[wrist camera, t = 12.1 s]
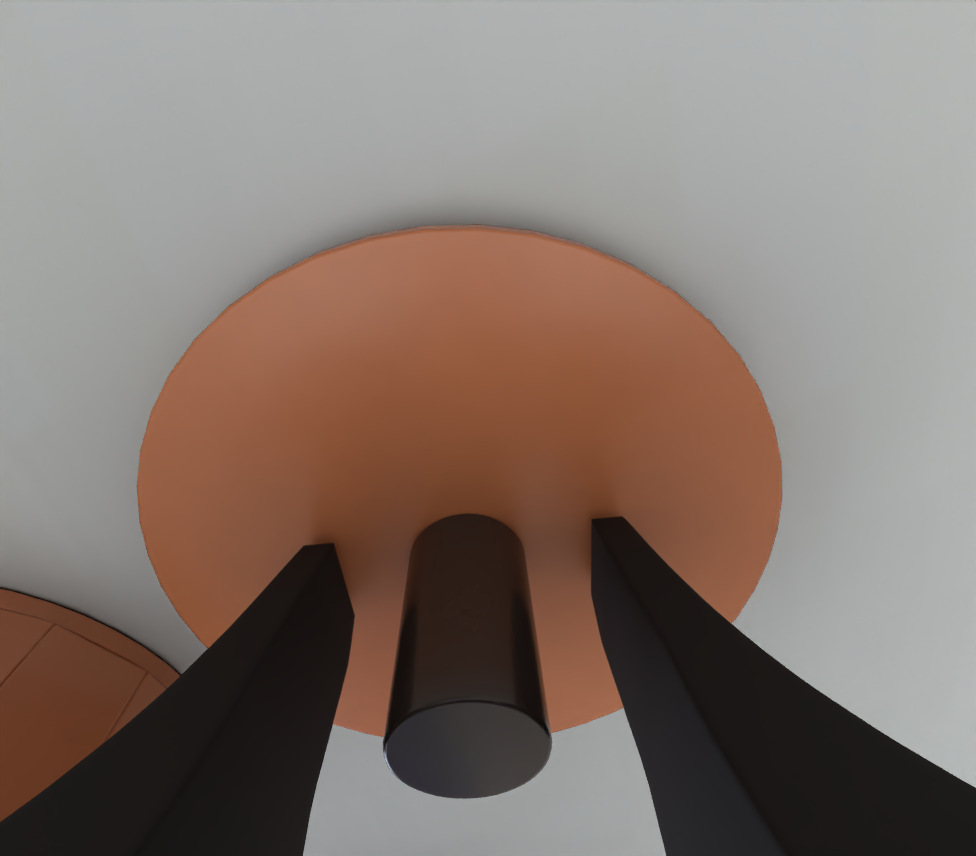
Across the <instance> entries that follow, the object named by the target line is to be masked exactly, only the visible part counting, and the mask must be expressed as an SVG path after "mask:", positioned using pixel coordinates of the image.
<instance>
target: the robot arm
mask: <svg viewBox="0 0 976 856" xmlns="http://www.w3.org/2000/svg"><path fill="white" fill-rule="evenodd" d="M591 597H592V601H593V606H594V611H595V615H596V620H597V624H598V629H599V633H600V637H601V642H602V645H603V648H604V651H605V654H606V657H607V660H608V663H609V666H610V669H611V672H612V675H613V678H614V681H615V684H616V687H617V690H618V692H619V695H620V698H621V701H622V704H623V707H624V710H625V713H626V716H627V719H628V722H629V725H630V728H631V730H632V733H633V736H634V739H635V742H636V745H637V748H638V751H639V754H640V757H641V760H642V764H643V767H644V770H645V774H646V777H647V780H648V784H649V787H650V791H651V795H652V799H653V803H654V807H655V811H656V815H657V819H658V823H659V828H660V832H661V836H662V840H663V844H664V848H665V852H666V856H976V788H975V787H973V786H971V785H970V784H968V783H966V782H964V781H962V780H961V779H959V778H957V777H955V776H954V775H952V774H950V773H949V772H947V771H945V770H944V769H942V768H940V767H938V766H937V765H935V764H933V763H932V762H930V761H928V760H927V759H925V758H923V757H922V756H920V755H918V754H916V753H915V752H913V751H911V750H910V749H908V748H906V747H905V746H903V745H901V744H900V743H898V742H896V741H895V740H893V739H891V738H890V737H888V736H887V735H885V734H883V733H882V732H880V731H879V730H877V729H875V728H874V727H872V726H871V725H869V724H868V723H866V722H865V721H863V720H862V719H860V718H859V717H857V716H856V715H854V714H853V713H851V712H850V711H848V710H847V709H845V708H844V707H842V706H841V705H839V704H838V703H836V702H834V701H833V700H831V699H830V698H828V697H827V696H825V695H824V694H822V693H821V692H819V691H818V690H816V689H815V688H814V687H812V686H811V685H809V684H808V683H806V682H805V681H804V680H802V679H801V678H800V677H798V676H797V675H795V674H794V673H793V672H791V671H790V670H789V669H787V668H786V667H785V666H783V665H782V664H781V663H779V662H778V661H777V660H775V659H774V658H773V657H772V656H770V655H769V654H768V653H766V652H765V651H764V650H762V649H761V648H760V647H759V646H758V645H756V644H755V643H754V642H753V641H751V640H750V639H749V638H748V637H746V636H745V635H744V634H743V633H742V632H740V631H739V630H738V629H737V628H736V627H735V626H733V625H732V624H731V623H730V622H729V621H728V620H727V619H725V618H724V617H723V616H722V615H721V614H720V613H719V612H717V611H716V610H715V609H714V608H713V607H712V606H711V605H710V604H709V603H707V602H706V601H705V600H704V599H703V598H702V597H701V596H700V595H699V594H698V593H697V592H696V591H695V590H694V589H693V588H692V587H690V586H689V585H688V584H687V583H686V582H685V581H684V580H683V579H682V578H681V577H680V576H679V575H678V574H677V573H676V572H675V571H674V570H673V569H672V568H671V567H670V566H669V565H668V564H667V563H666V562H665V561H664V560H663V559H662V558H661V557H660V556H659V555H658V553H657V552H656V551H655V550H654V549H653V548H652V547H651V546H650V545H649V544H648V543H647V542H646V541H645V540H644V539H643V537H642V536H641V535H640V534H639V533H638V532H637V531H636V530H635V529H634V527H633V526H632V525H631V524H630V523H629V522H628V521H627V520H626V519H625V518H624V517H623V516H618V517H608V518H597V519H592V528H591ZM354 619H355V614H354V611H353V607H352V604H351V600H350V597H349V594H348V590H347V587H346V583H345V580H344V576H343V573H342V570H341V566H340V563H339V559H338V556H337V552H336V549H335V546H334V543H326V544H315V545H304V546H303V547H302V548H301V549H300V550H299V551H298V552H297V553H296V554H295V555H294V557H293V558H292V559H291V560H290V561H289V562H288V563H287V564H286V565H285V567H284V568H283V569H282V570H281V571H280V572H279V573H278V574H277V576H276V577H275V578H274V579H273V580H272V581H271V582H270V583H269V584H268V586H267V587H266V588H265V589H264V590H263V591H262V592H261V593H260V594H259V596H258V597H257V598H256V599H255V600H254V601H253V602H252V603H251V604H250V605H249V607H248V608H247V609H246V610H245V611H244V612H243V613H242V614H241V615H240V616H239V617H238V618H237V619H236V621H235V622H234V623H233V624H232V625H231V626H230V627H229V628H228V629H227V630H226V631H225V632H224V633H223V634H222V635H221V636H220V637H219V638H218V639H217V640H216V641H215V642H214V643H213V644H212V645H211V646H210V647H209V648H208V649H207V650H206V651H205V652H204V653H203V654H202V655H201V656H200V657H199V658H198V659H197V660H196V661H195V662H194V663H193V664H192V665H191V666H190V667H189V668H188V669H187V670H186V671H185V672H184V673H183V674H182V675H181V676H180V677H179V678H178V679H177V680H176V681H175V682H173V683H172V684H171V685H170V686H169V687H168V688H167V689H166V690H165V691H164V692H163V693H161V694H160V695H159V696H158V697H157V698H156V699H155V700H154V701H153V702H151V703H150V704H149V705H148V706H147V707H146V708H145V709H143V710H142V711H141V712H140V713H139V714H138V715H136V716H135V717H134V718H133V719H132V720H131V721H130V722H128V723H127V724H126V725H125V726H124V727H123V728H121V729H120V730H119V731H118V732H117V733H115V734H114V735H113V736H112V737H111V738H109V739H108V740H107V741H106V742H104V743H103V744H102V745H100V746H99V747H98V748H97V749H95V750H94V751H93V752H92V753H90V754H89V755H88V756H86V757H85V758H84V759H83V760H81V761H80V762H79V763H78V764H76V765H75V766H74V767H73V768H71V769H70V770H69V771H67V772H66V773H65V774H64V775H62V776H61V777H60V778H59V779H57V780H56V781H55V782H54V783H52V784H51V785H50V786H48V787H47V788H46V789H44V790H43V791H42V792H40V793H39V794H38V795H36V796H35V797H34V798H32V799H31V800H30V801H28V802H27V803H26V804H24V805H23V806H21V807H20V808H19V809H17V810H16V811H15V812H13V813H12V814H10V815H9V816H8V817H6V818H5V819H4V820H2V821H1V822H0V856H303V851H304V845H305V840H306V834H307V828H308V822H309V817H310V812H311V807H312V803H313V798H314V794H315V790H316V785H317V781H318V778H319V774H320V770H321V766H322V763H323V759H324V755H325V751H326V748H327V744H328V740H329V736H330V733H331V729H332V725H333V721H334V718H335V714H336V710H337V706H338V703H339V699H340V695H341V691H342V687H343V683H344V680H345V676H346V672H347V668H348V663H349V656H350V649H351V643H352V635H353V627H354Z"/></svg>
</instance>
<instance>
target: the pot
mask: <svg viewBox="0 0 976 856" xmlns="http://www.w3.org/2000/svg"><path fill="white" fill-rule="evenodd" d="M179 677H180V675H179V674H178V673H177V672H176V671H175V670H173V669H172V668H171V667H170V666H169V665H168V664H167V663H165V662H164V661H162V660H161V659H160V658H158V657H157V656H155V655H154V654H153V653H151V652H150V651H149V650H147V649H146V648H144V647H143V646H141V645H139V644H138V643H136V642H134V641H133V640H131V639H129V638H128V637H126V636H124V635H122V634H121V633H119V632H117V631H116V630H113V629H111V628H109V627H107V626H105V625H103V624H101V623H99V622H97V621H95V620H93V619H91V618H88V617H86V616H84V615H81V614H79V613H76V612H74V611H71V610H69V609H66V608H63V607H61V606H58V605H56V604H53V603H50V602H47V601H43V600H40V599H37V598H33V597H30V596H27V595H23V594H20V593H17V592H13V591H8V590H4V589H0V822H1V821H2V820H4V819H5V818H6V817H8V816H9V815H10V814H12V813H13V812H15V811H16V810H17V809H19V808H20V807H21V806H23V805H24V804H26V803H27V802H28V801H30V800H31V799H32V798H34V797H35V796H36V795H38V794H39V793H40V792H42V791H43V790H44V789H46V788H47V787H48V786H50V785H51V784H52V783H54V782H55V781H56V780H57V779H59V778H60V777H61V776H62V775H64V774H65V773H66V772H67V771H69V770H70V769H71V768H73V767H74V766H75V765H76V764H78V763H79V762H80V761H81V760H83V759H84V758H85V757H86V756H88V755H89V754H90V753H92V752H93V751H94V750H95V749H97V748H98V747H99V746H100V745H102V744H103V743H104V742H106V741H107V740H108V739H109V738H111V737H112V736H113V735H114V734H115V733H117V732H118V731H119V730H120V729H121V728H123V727H124V726H125V725H126V724H127V723H128V722H130V721H131V720H132V719H133V718H134V717H135V716H136V715H138V714H139V713H140V712H141V711H142V710H143V709H145V708H146V707H147V706H148V705H149V704H150V703H151V702H153V701H154V700H155V699H156V698H157V697H158V696H159V695H160V694H161V693H163V692H164V691H165V690H166V689H167V688H168V687H169V686H170V685H171V684H172V683H173V682H175V681H176V680H177V679H178V678H179Z"/></svg>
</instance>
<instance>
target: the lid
mask: <svg viewBox="0 0 976 856" xmlns="http://www.w3.org/2000/svg"><path fill="white" fill-rule="evenodd" d="M137 494H138V506H139V519H140V525H141V529H142V533H143V537H144V541H145V545H146V549H147V553H148V556H149V558H150V561H151V563H152V565H153V568H154V570H155V573H156V575H157V577H158V580H159V582H160V584H161V586H162V588H163V590H164V591H165V593H166V595H167V596H168V598H169V600H170V601H171V603H172V604H173V606H174V608H175V609H176V611H177V613H178V614H179V616H180V617H181V618H182V619H183V621H184V622H185V623H186V624H187V625H188V627H189V628H190V629H191V630H192V632H193V633H194V634H195V635H196V637H197V638H198V639H199V640H200V641H201V642H202V643H203V644H204V645H205V646H206V647H207V648H209V647H210V646H211V645H212V644H213V643H214V642H215V641H216V640H217V639H218V638H219V637H220V636H221V635H222V634H223V633H224V632H225V631H226V630H227V629H228V628H229V627H230V626H231V625H232V624H233V623H234V622H235V621H236V619H237V618H238V617H239V616H240V615H241V614H242V613H243V612H244V611H245V610H246V609H247V608H248V607H249V605H250V604H251V603H252V602H253V601H254V600H255V599H256V598H257V597H258V596H259V594H260V593H261V592H262V591H263V590H264V589H265V588H266V587H267V586H268V584H269V583H270V582H271V581H272V580H273V579H274V578H275V577H276V576H277V574H278V573H279V572H280V571H281V570H282V569H283V568H284V567H285V565H286V564H287V563H288V562H289V561H290V560H291V559H292V558H293V557H294V555H295V554H296V553H297V552H298V551H299V550H300V549H301V548H302V547H303V546H304V545H315V544H326V543H334V546H335V549H336V552H337V556H338V559H339V563H340V566H341V570H342V573H343V576H344V580H345V583H346V587H347V590H348V594H349V597H350V600H351V604H352V607H353V611H354V614H355V619H354V627H353V635H352V643H351V649H350V656H349V663H348V668H347V672H346V676H345V680H344V683H343V687H342V691H341V695H340V699H339V703H338V706H337V710H336V714H335V718H334V721H333V724H334V725H337V726H341V727H345V728H348V729H352V730H355V731H359V732H362V733H366V734H371V735H376V736H381V737H384V740H383V753H384V757H385V761H386V763H387V765H388V767H389V769H390V770H391V772H392V773H393V774H394V775H395V776H396V777H397V778H398V779H400V780H401V781H402V782H404V783H405V784H407V785H408V786H410V787H412V788H414V789H417V790H419V791H422V792H424V793H427V794H431V795H435V796H441V797H447V798H462V799H468V798H481V797H488V796H493V795H497V794H501V793H504V792H507V791H510V790H513V789H515V788H517V787H519V786H521V785H523V784H525V783H526V782H528V781H530V780H531V779H532V778H534V777H535V776H536V775H537V774H538V773H539V772H540V771H541V770H542V769H543V767H544V766H545V765H546V763H547V761H548V759H549V756H550V752H551V749H552V737H551V733H554V732H558V731H561V730H564V729H568V728H571V727H574V726H578V725H581V724H584V723H587V722H590V721H592V720H595V719H597V718H600V717H603V716H605V715H608V714H610V713H613V712H615V711H617V710H619V709H621V708H623V704H622V701H621V698H620V695H619V692H618V690H617V687H616V684H615V681H614V678H613V675H612V672H611V669H610V666H609V663H608V660H607V657H606V654H605V651H604V648H603V645H602V642H601V637H600V633H599V629H598V624H597V620H596V615H595V611H594V606H593V601H592V597H591V528H592V519H597V518H608V517H618V516H623V517H624V518H625V519H626V520H627V521H628V522H629V523H630V524H631V525H632V526H633V527H634V529H635V530H636V531H637V532H638V533H639V534H640V535H641V536H642V537H643V539H644V540H645V541H646V542H647V543H648V544H649V545H650V546H651V547H652V548H653V549H654V550H655V551H656V552H657V553H658V555H659V556H660V557H661V558H662V559H663V560H664V561H665V562H666V563H667V564H668V565H669V566H670V567H671V568H672V569H673V570H674V571H675V572H676V573H677V574H678V575H679V576H680V577H681V578H682V579H683V580H684V581H685V582H686V583H687V584H688V585H689V586H690V587H692V588H693V589H694V590H695V591H696V592H697V593H698V594H699V595H700V596H701V597H702V598H703V599H704V600H705V601H706V602H707V603H709V604H710V605H711V606H712V607H713V608H714V609H715V610H716V611H717V612H719V613H720V614H721V615H722V616H723V617H724V618H725V619H727V620H728V621H729V622H730V623H731V624H732V622H733V621H734V620H735V619H736V618H737V616H738V615H739V613H740V612H741V610H742V609H743V607H744V605H745V604H746V602H747V601H748V599H749V598H750V596H751V595H752V593H753V592H754V590H755V588H756V586H757V584H758V582H759V579H760V577H761V575H762V573H763V571H764V569H765V567H766V564H767V562H768V560H769V557H770V553H771V550H772V547H773V543H774V540H775V537H776V533H777V530H778V523H779V516H780V509H781V501H782V471H781V458H780V453H779V448H778V443H777V438H776V433H775V428H774V424H773V422H772V419H771V416H770V414H769V411H768V409H767V406H766V403H765V401H764V398H763V396H762V393H761V391H760V389H759V387H758V385H757V384H756V382H755V380H754V379H753V377H752V375H751V374H750V372H749V370H748V369H747V367H746V365H745V364H744V362H743V360H742V359H741V357H740V355H739V354H738V353H737V352H736V351H735V349H734V348H733V347H732V346H731V345H730V344H729V342H728V341H727V340H726V339H725V338H724V337H723V335H722V334H721V333H720V332H719V331H718V330H717V328H716V327H715V326H714V325H713V324H712V323H711V322H710V321H709V320H708V319H707V318H706V317H704V316H703V315H702V314H701V313H700V312H698V311H697V310H696V309H695V308H694V307H693V306H691V305H690V304H689V303H688V302H687V301H685V300H684V299H683V298H682V297H681V296H679V295H678V294H677V293H676V292H674V291H673V290H671V289H670V288H668V287H667V286H665V285H663V284H662V283H660V282H658V281H657V280H655V279H654V278H652V277H650V276H649V275H647V274H645V273H644V272H642V271H640V270H639V269H637V268H635V267H634V266H632V265H630V264H629V263H627V262H625V261H622V260H620V259H617V258H615V257H613V256H610V255H608V254H606V253H603V252H601V251H598V250H596V249H594V248H591V247H589V246H586V245H584V244H582V243H578V242H574V241H570V240H566V239H562V238H559V237H555V236H551V235H547V234H543V233H539V232H535V231H532V230H523V229H514V228H505V227H497V226H488V225H479V224H476V225H439V226H421V227H415V228H409V229H403V230H397V231H391V232H385V233H380V234H374V235H370V236H366V237H363V238H360V239H357V240H354V241H351V242H348V243H345V244H342V245H338V246H335V247H332V248H329V249H326V250H323V251H320V252H318V253H316V254H314V255H312V256H310V257H308V258H306V259H304V260H302V261H300V262H298V263H296V264H294V265H292V266H290V267H288V268H286V269H284V270H282V271H280V272H278V273H276V274H274V275H273V276H271V277H270V278H268V279H267V280H265V281H264V282H262V283H261V284H260V285H258V286H257V287H255V288H254V289H252V290H251V291H250V292H248V293H247V294H245V295H244V296H242V297H241V298H240V299H238V300H237V301H235V302H234V303H232V304H231V305H230V306H228V307H227V308H226V309H225V310H224V311H223V312H222V313H221V314H220V315H219V316H218V317H217V318H216V319H215V320H214V321H213V322H212V323H211V324H210V325H209V326H208V327H207V328H206V329H205V330H204V331H203V332H202V333H201V334H200V335H199V336H197V337H196V338H195V340H194V341H193V342H192V344H191V345H190V346H189V348H188V349H187V351H186V352H185V353H184V355H183V356H182V357H181V359H180V360H179V362H178V363H177V364H176V366H175V367H174V368H173V370H172V371H171V373H170V374H169V376H168V378H167V380H166V382H165V384H164V386H163V388H162V390H161V392H160V394H159V396H158V398H157V400H156V402H155V405H154V407H153V409H152V411H151V414H150V417H149V421H148V425H147V428H146V432H145V435H144V439H143V442H142V446H141V450H140V460H139V470H138V481H137Z"/></svg>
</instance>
